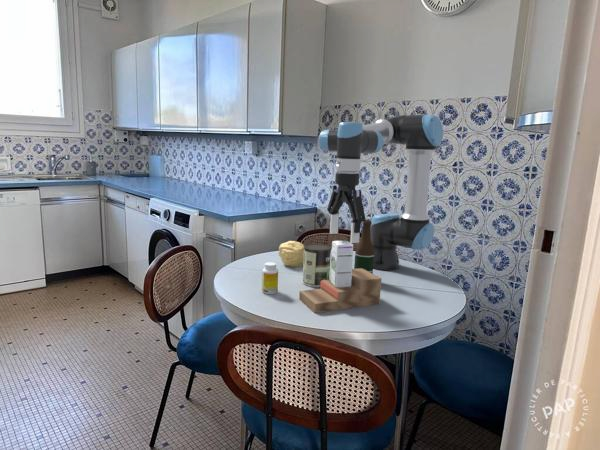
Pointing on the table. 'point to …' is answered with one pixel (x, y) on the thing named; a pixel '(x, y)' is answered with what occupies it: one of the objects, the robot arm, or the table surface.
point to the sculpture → (292, 253)
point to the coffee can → (316, 264)
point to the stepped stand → (344, 293)
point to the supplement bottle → (270, 278)
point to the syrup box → (341, 263)
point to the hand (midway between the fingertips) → (343, 237)
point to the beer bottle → (365, 249)
